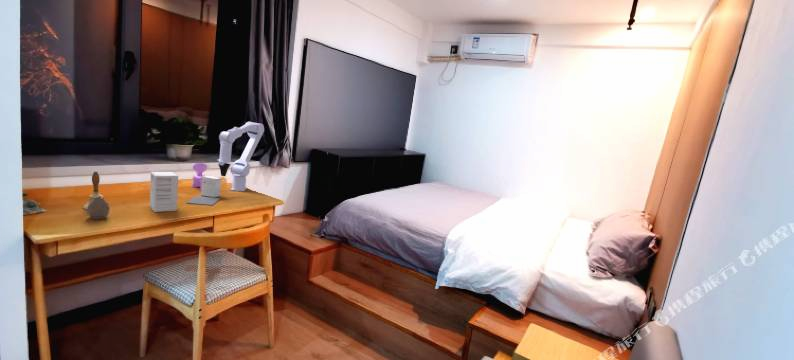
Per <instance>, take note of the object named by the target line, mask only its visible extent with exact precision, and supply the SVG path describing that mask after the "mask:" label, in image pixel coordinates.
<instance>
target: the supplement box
mask: <svg viewBox="0 0 794 360" xmlns="http://www.w3.org/2000/svg"><path fill="white" fill-rule="evenodd" d="M178 190H179V175H178V174H176V173H175V172H174V171H151V172H150V192H149V208H150V209H151V210H152V211H153V212H154V213H157V212H172V211H173V212H175V211H177V210H178Z"/></svg>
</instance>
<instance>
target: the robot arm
mask: <svg viewBox="0 0 794 360" xmlns="http://www.w3.org/2000/svg"><path fill="white" fill-rule="evenodd" d="M264 132H265V127H264V124H263V123H258V122H252V121H247V122H245V124H244V125H243V124H242V126H240V127H237V126H234V127H233V128H231V129H228V130H227V131H221V132H220V134H219V135H218V140H219V144H220V148H219V149H220V150H219V159H216V161H217V162H219V163H218V168H219V171H220V176H221V177H227V173H228V171H229V170H230V173H231V175H232V185H231V186H232V187H231V188H230V189H229V190H230V191H237V192H245V191H246V190H247V189H248V187H246V186H247V185H246V183H247V177H248V175H249V174H250V171H251V170H250V169H251V167H252V166H251V164H250V163H249V162H250V161H251V158H252V156H253V154H254V152H255V150H256V148H257V146H258V144H259V142H260V140H261V138H262V136H263V134H264ZM244 133H247V135H248V137H249V140H248V142H247V144H246V146H245V147H244V149H243V152H242V154H241V156H240V158H239V159H237V160H235V161H234V163H232V164H231V162H232V161H231V157H232V148H233V147H232V146H233V143H234V142H235V141H236V140H237V139H238V138H240V137H242V135H243V134H244ZM229 167H230V169H229Z"/></svg>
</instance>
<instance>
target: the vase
mask: <svg viewBox="0 0 794 360" xmlns="http://www.w3.org/2000/svg"><path fill="white" fill-rule="evenodd" d="M110 209H111V208H110V205H109V203H108V202H107V201H106V200H105V199H104V196H103V197H100V196H98V197H95V198H94V200H93V201H92V202H91V203H90V204H89V205H88V208H87V209H86V210H87V211H86V212H87V214H88V216H89V217H90V218H91V219H92V220H103V219H105V218H107V217H108V216H109V214H110V212H111V211H110Z"/></svg>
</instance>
